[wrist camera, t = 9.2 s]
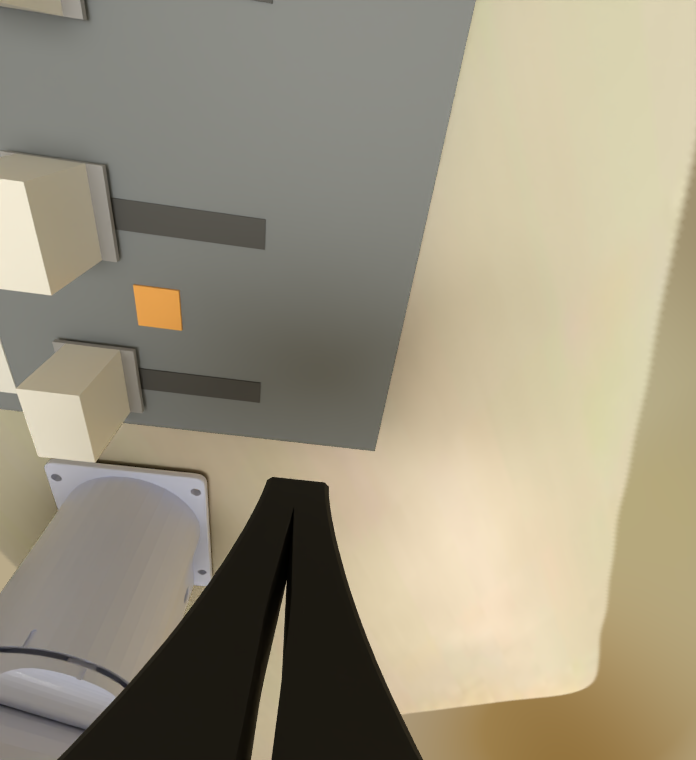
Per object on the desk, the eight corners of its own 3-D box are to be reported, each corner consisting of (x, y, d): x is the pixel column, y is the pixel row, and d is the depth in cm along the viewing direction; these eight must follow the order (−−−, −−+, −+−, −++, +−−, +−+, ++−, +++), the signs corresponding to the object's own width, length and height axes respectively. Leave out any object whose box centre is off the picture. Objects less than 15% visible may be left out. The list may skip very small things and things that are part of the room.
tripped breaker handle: (119, 260, 15) (69, 297, 13) (28, 248, 15) (-42, 283, 13) (105, 164, 14) (44, 184, 11) (3, 149, 14) (-84, 166, 11)
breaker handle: (144, 410, 19) (109, 464, 16) (71, 402, 19) (23, 455, 16) (135, 349, 17) (95, 397, 15) (54, 339, 17) (-1, 386, 14)
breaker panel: (373, 429, 22) (374, 452, 20) (-18, 384, 20) (-44, 405, 19) (487, -103, 12) (505, -128, 10) (-259, -244, 11) (-347, -291, 9)
